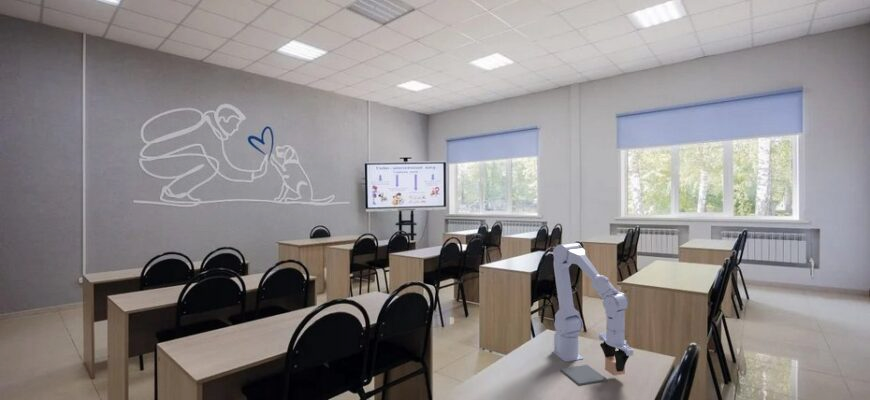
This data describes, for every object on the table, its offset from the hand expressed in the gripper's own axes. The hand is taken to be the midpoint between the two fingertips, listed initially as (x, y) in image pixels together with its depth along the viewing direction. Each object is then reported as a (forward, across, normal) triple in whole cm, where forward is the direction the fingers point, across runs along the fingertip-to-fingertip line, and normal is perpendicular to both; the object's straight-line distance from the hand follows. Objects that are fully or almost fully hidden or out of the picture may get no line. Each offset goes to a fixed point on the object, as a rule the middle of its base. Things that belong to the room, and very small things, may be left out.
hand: (614, 367), depth 137 cm
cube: (+1, 0, 0) cm, 1 cm away
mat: (+4, +5, +9) cm, 11 cm away
